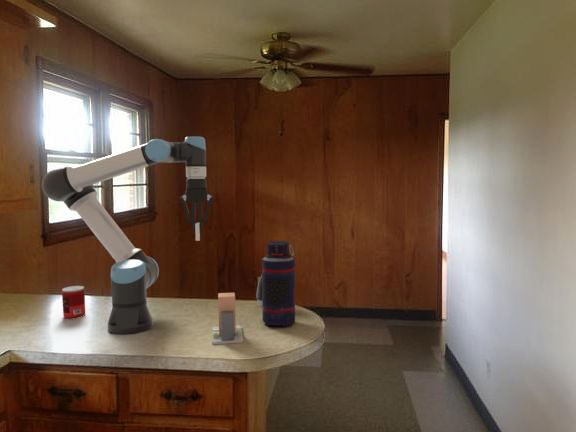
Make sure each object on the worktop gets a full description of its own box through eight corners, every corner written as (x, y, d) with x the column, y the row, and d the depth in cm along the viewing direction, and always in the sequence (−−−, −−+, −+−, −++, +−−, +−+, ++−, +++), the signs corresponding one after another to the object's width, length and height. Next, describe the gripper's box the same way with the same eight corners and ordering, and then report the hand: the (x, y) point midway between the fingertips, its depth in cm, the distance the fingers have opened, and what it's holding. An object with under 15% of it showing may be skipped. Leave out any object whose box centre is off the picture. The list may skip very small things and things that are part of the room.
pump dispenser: (281, 309, 187) (281, 272, 186) (255, 309, 187) (255, 272, 186) (282, 302, 197) (281, 267, 196) (257, 302, 197) (257, 267, 196)
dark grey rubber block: (221, 341, 150) (221, 313, 149) (221, 338, 153) (220, 311, 152) (234, 340, 150) (233, 313, 150) (233, 337, 153) (233, 310, 152)
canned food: (89, 313, 184) (88, 285, 183) (78, 319, 176) (76, 290, 175) (70, 312, 185) (69, 285, 184) (59, 318, 177) (57, 290, 176)
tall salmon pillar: (212, 335, 154) (212, 297, 153) (213, 330, 159) (212, 293, 158) (241, 334, 155) (241, 296, 154) (240, 329, 160) (240, 292, 159)
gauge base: (212, 344, 149) (212, 338, 149) (212, 329, 164) (212, 323, 164) (243, 342, 151) (243, 336, 151) (240, 327, 166) (240, 321, 165)
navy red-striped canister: (291, 329, 163) (291, 244, 160) (258, 327, 165) (257, 244, 163) (298, 317, 176) (298, 239, 174) (268, 316, 179) (267, 238, 176)
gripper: (177, 178, 171) (179, 242, 173) (213, 178, 173) (215, 241, 175) (179, 178, 178) (181, 239, 180) (213, 178, 180) (215, 238, 182)
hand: (197, 240), depth 177 cm, fingers closed
